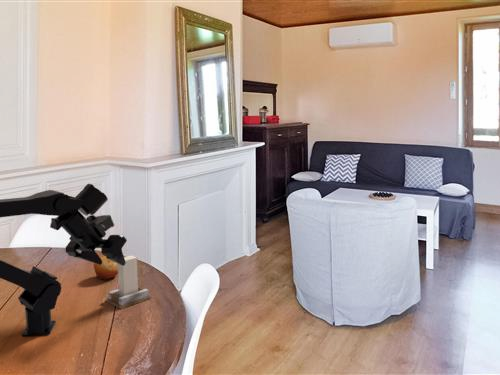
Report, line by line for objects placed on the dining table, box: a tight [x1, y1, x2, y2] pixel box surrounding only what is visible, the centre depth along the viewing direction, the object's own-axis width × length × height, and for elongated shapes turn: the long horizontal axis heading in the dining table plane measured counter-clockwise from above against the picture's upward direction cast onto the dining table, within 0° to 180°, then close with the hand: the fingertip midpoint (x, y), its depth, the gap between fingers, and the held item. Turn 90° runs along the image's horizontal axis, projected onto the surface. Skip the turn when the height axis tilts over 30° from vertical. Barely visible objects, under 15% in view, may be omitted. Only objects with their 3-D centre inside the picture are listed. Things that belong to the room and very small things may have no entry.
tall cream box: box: [117, 255, 139, 297], centre depth 127 cm, size 4×3×12 cm, turn 136°
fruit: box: [93, 255, 118, 281], centre depth 145 cm, size 8×8×8 cm
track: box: [105, 284, 152, 310], centre depth 128 cm, size 10×8×3 cm
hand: (112, 263), depth 124 cm, fingers open, 9 cm apart
